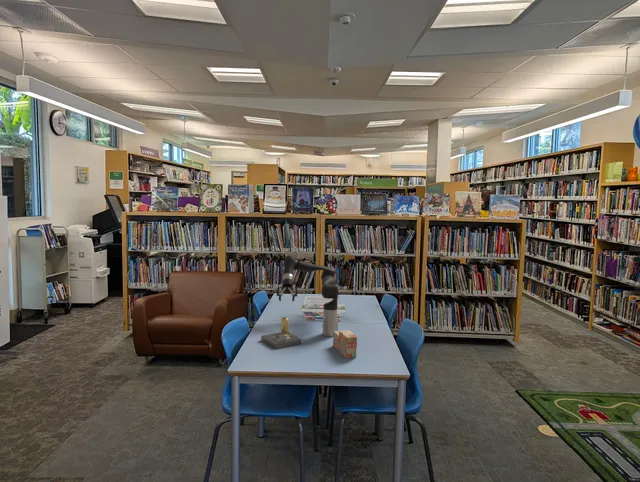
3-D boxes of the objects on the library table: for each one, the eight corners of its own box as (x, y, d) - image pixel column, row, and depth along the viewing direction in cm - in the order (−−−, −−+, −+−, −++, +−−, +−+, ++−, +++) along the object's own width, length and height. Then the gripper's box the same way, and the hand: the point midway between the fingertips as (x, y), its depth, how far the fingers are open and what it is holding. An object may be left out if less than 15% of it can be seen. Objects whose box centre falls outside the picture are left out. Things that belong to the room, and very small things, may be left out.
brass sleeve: (286, 331, 271) (286, 316, 271) (289, 333, 267) (290, 318, 266) (279, 332, 268) (279, 317, 268) (283, 334, 264) (283, 319, 264)
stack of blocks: (332, 346, 246) (333, 326, 245) (342, 345, 248) (342, 325, 247) (346, 358, 226) (347, 337, 225) (356, 357, 228) (357, 336, 227)
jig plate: (286, 335, 263) (286, 331, 262) (301, 343, 248) (301, 339, 248) (261, 340, 252) (261, 335, 252) (275, 349, 238) (275, 344, 237)
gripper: (298, 284, 291) (297, 304, 281) (278, 283, 291) (276, 303, 281) (297, 278, 286) (296, 298, 275) (277, 277, 285) (275, 297, 275)
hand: (286, 300), depth 278 cm, fingers open, 8 cm apart
